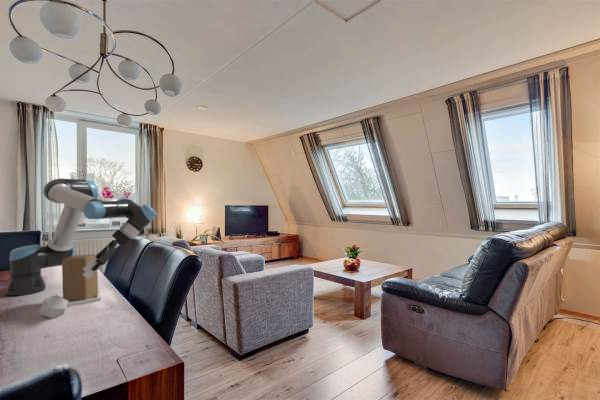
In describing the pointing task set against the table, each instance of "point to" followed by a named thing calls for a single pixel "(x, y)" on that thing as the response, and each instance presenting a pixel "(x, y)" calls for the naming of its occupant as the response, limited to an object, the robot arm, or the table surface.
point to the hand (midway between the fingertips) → (85, 273)
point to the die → (53, 306)
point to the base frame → (84, 301)
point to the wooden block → (78, 279)
